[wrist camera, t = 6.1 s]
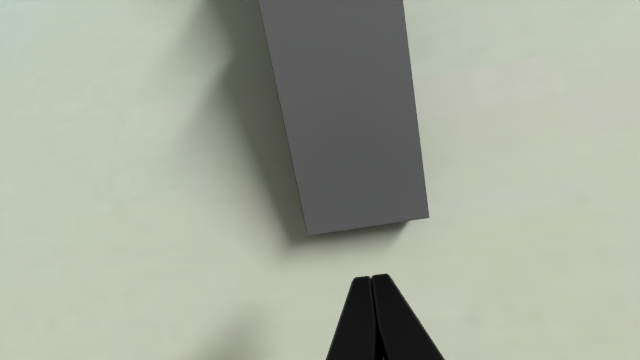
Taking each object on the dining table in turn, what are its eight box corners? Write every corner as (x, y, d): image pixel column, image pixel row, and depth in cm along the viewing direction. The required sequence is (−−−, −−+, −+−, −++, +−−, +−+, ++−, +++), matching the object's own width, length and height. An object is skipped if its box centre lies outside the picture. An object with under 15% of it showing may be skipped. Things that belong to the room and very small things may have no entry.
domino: (429, 217, 15) (395, -57, 13) (307, 235, 16) (253, -25, 14) (421, 204, 17) (390, -43, 15) (311, 221, 18) (263, -15, 15)
